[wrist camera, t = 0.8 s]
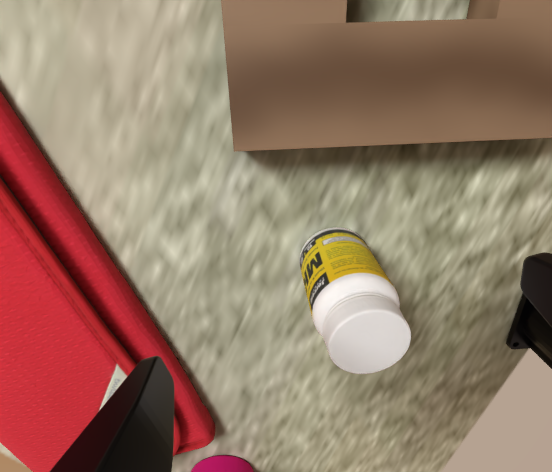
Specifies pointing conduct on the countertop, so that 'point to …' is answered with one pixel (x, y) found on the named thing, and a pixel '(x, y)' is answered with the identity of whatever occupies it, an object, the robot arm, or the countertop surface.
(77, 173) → the countertop surface
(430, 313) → the countertop surface
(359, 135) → the socket board
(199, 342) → the countertop surface
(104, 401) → the red folded cloth
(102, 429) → the robot arm
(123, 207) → the countertop surface
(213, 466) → the pepper mill
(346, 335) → the supplement bottle
